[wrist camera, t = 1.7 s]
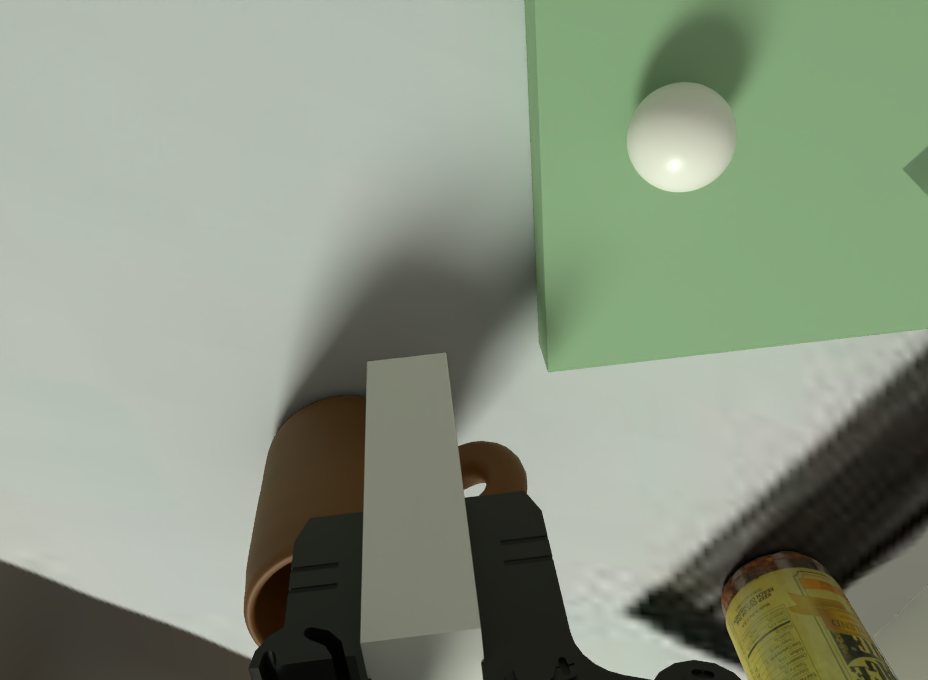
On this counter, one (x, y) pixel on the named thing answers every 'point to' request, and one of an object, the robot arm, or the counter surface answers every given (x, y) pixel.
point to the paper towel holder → (907, 639)
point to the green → (729, 177)
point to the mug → (330, 493)
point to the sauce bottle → (797, 623)
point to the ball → (682, 137)
